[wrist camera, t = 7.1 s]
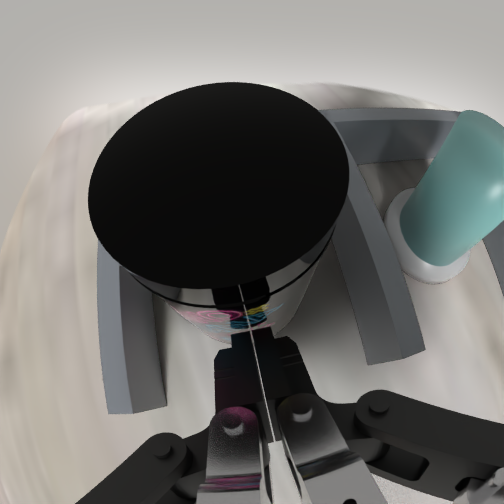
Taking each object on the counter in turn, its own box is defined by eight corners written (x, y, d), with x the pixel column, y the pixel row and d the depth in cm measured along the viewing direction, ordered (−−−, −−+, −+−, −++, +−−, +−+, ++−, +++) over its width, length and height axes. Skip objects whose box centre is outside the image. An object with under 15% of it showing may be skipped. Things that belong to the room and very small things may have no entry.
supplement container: (165, 262, 17) (78, 137, 8) (266, 215, 18) (266, 63, 9) (212, 367, 15) (123, 346, 5) (324, 310, 16) (405, 205, 6)
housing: (514, 299, 15) (598, 249, 7) (146, 407, 14) (36, 421, 5) (442, 147, 21) (483, 69, 12) (132, 192, 19) (76, 95, 11)
